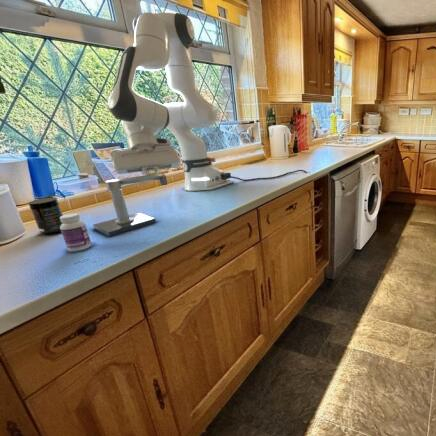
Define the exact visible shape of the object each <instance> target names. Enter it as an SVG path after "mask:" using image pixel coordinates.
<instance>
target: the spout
mask: <svg viewBox="0 0 436 436" xmlns="http://www.w3.org/2000/svg"><path fill="white" fill-rule="evenodd" d="M167 179H168V178H167V175H166V174H165V173H163V172H159V173H158V174H152V175H138V176H130V177H124V178H123V177H122V178H114V179H108V180H106V181H105V185H106V190H107V191H108V192H110V191H114V190H120V189H122V190H123V186H126V185H132V184H138V183H146V182H152V181H159V184H160V186H167V185H169V183H168V180H167Z"/></svg>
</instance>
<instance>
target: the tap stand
mask: <svg viewBox="0 0 436 436" xmlns="http://www.w3.org/2000/svg"><path fill="white" fill-rule="evenodd" d="M109 193H110V198H111V201H112V204H113V207H114V212H115V215H116V217H117V218H112V219H109V220H105V221H102V222H99V223H93V224H92V226H93V229H94V230H96V231H97V232H100V233H102V234H103V235H106V236H108V237H112V236H115V235H118V234H122V233H125V232H129V231H132V230H136V229H138V228H142V227H146V226H149V225H152V224H154V223H156V222H157V221H156V218H155V217H152V216H149V215H147V214H144V213H141V212H135V213H131V214H129V211H128V208H127V204H126V200H125V197H124V193H123V188H122V189H120V190H114V191H109Z"/></svg>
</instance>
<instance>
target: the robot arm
mask: <svg viewBox="0 0 436 436" xmlns="http://www.w3.org/2000/svg"><path fill="white" fill-rule="evenodd" d="M132 29H133V33H134V37H133V40H134V41H133V44H132V45H128V46H127V47H126V48H125V49H124V51H122V53H121V57H120V60H119V64H118V67H117V71H116V75H115V79H114V83H113V86H112V89H111V90H110V93H109V96H108V98H107V99H108V100H107V108H108V110H109V112H110V113H111V114H112V116H113V117H114V118H115V119H116V120H119V121H121V125H122V130H123V133H124V135H125V136H126V143H127V147H126V148H125V147H124V148H114V149H113V150H111V151H110V152H109V158H110V159H111V161H112V162H113V164H112V165H113V168H114V172H115V173H116V174H118V175H123V174H125V175H126V174H134V173H142V175H143V176H145V175H152V174H160V170H167V169H174V168H175V169H176V168H179V167H181V164H182V170H183V172H184V190H185V191H189V192H190V191H191V192H197V191H211V190H215V189H218V188H222V187H224V186H227V185H229V184H232V180H231V179H236V180H239V181H241V182H242V181H243V182H250V181H257V180H272V179H277V178H281V177H284V176H286V175H289V174H293V173H297V172H298V173H299V172H304V173H306V174H307V173H308V171H306V170H304V169H297V170H294V171H289V172H286V173H283V174H280V175H276V176H270V177H269V176H268V177H256V178H248V179H245V178H240V177H237V176H232V175H231V172H225V171H224V170H222V169H221V168H219V167H217V166H215V165H214V164H213V163H215V162H216V158H215V157H209V156H208V153H207V147H206V142H205V141H204V139H203V138H201V137H200V136H198V135H195V133H193V132H192V131H191V129H195V128H197V129H198V128H208V127H211V126H214V125H215V124H216V122H217V119H218V113H217V110H216V108H215V107H214V105H213V104H211V102H208V101H207V100H206V98H204V97H203V95H202V93H200V90H199V88H198V86H197V82H196V77H195V72H194V64H193V60H192V55H191V53H190V50H189V49H190V47H191V45H192V44H193V42H194V41H195V28H194V25H193V23H192V20H191V19H190V17H189V16H188V15H187V14H185V13H180V12H175V13H173V12H157V13H153V12H147V11H146V12H143V13H140V14H138V15H136V16H135V17H134V18H133V20H132ZM164 68H165V74H166V79H167V80H166V81H167V85H168V87H169V88H170V89H171V91H173V92H175V93H177V94H179V95H181V97H182V98H183V100H184V102H167V103H163V104H162V103H160V102H159V101H155V100H154V99H151V98H148V97H146V96H144V95H141V94H139V93H137V92H136V91H135V90H134V89H133V87H134V82H135V77H136V72H137V70H139V71H140V70H141V71H148V72H155V71H161V70H163V69H164ZM165 129H166V130H168V131H169V132H171V134H172V135H173V136H174V138H175V139H176V142H177V143H178V148H179V150H180V154H181V158H180V156H179V153H178V151H177V150H176V148H175V147H174V146H172V143H171V140H170V139H168V138H163V137H157V136H155V135H158V134H159V133H161V132H162V131H164V130H165ZM151 171H153V172H152V173H149V172H151ZM310 210H312V212H311V229H312V232H314V212H313V211H314V210H313V200H311V201H310Z"/></svg>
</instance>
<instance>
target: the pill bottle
mask: <svg viewBox="0 0 436 436" xmlns="http://www.w3.org/2000/svg"><path fill="white" fill-rule="evenodd" d="M60 220H61V222H62V223H63V224H61V226H60V229H61V232H60V233H61V235H62V237H63V240H64V244H65V246H66V248H67V251H69V252H79V251H80V252H81V251H84V250H87V249H88V248H90V247H91V246H92V241H91V239H90V235H89V232H88V228H87V226H86V222H84V221H83V220H82V219H81V217H80V215H79V213H76V212H75V213H74V212H73V213H68V214H63V216H61V217H60Z"/></svg>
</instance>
